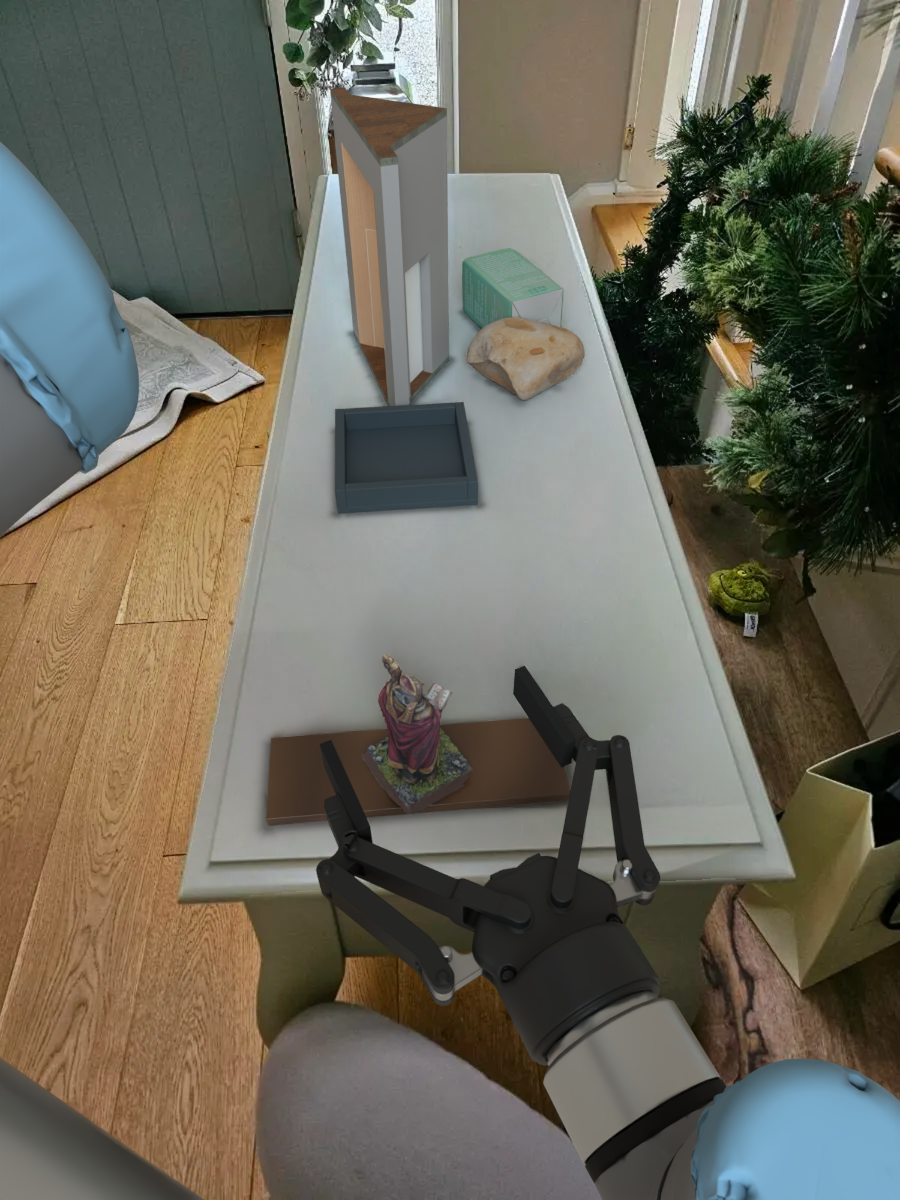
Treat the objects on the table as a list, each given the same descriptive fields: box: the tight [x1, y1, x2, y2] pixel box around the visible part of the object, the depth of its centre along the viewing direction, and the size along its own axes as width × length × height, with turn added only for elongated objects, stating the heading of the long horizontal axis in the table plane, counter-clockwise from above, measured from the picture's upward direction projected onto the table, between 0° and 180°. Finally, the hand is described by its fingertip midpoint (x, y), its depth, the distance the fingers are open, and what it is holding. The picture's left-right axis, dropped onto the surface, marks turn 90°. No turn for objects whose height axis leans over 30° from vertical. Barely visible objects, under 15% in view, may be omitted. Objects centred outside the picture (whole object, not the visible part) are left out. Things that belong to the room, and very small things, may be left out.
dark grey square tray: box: [334, 401, 479, 515], centre depth 89 cm, size 14×14×3 cm
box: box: [461, 247, 565, 330], centre depth 108 cm, size 7×14×8 cm, turn 26°
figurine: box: [362, 652, 473, 815], centre depth 59 cm, size 6×6×12 cm
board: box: [265, 717, 571, 827], centre depth 64 cm, size 22×7×1 cm, turn 95°
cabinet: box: [329, 86, 450, 406], centre depth 94 cm, size 21×10×28 cm, turn 18°
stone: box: [466, 317, 586, 401], centre depth 100 cm, size 14×11×8 cm
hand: (426, 715), depth 56 cm, fingers open, 13 cm apart
